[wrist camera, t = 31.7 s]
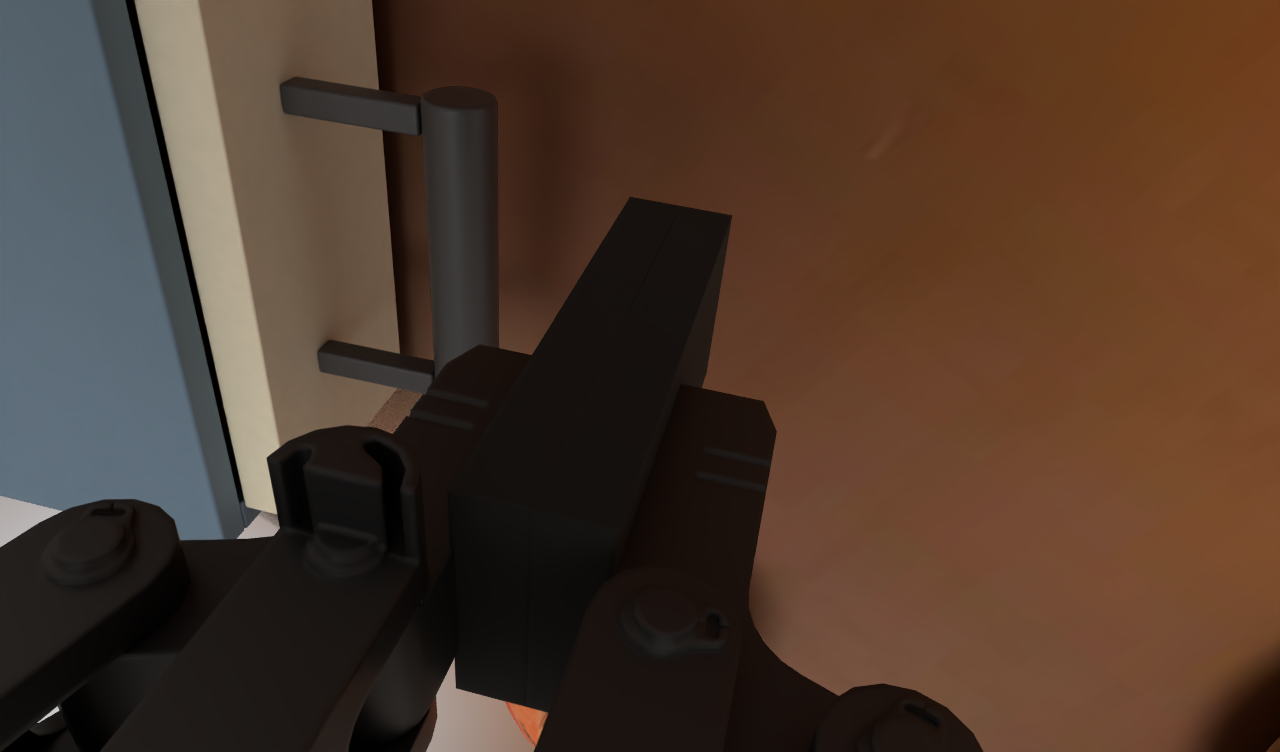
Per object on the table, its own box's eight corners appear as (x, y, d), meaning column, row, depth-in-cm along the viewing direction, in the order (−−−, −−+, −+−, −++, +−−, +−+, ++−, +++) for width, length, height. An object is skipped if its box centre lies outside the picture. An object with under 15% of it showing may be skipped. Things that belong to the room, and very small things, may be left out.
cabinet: (328, -154, 19) (57, -126, 13) (380, 375, 27) (226, 553, 20) (-209, -220, 21) (-673, -223, 15) (-17, 291, 28) (-268, 430, 22)
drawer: (560, -86, 18) (442, -40, 13) (544, 412, 25) (463, 559, 20) (-152, -178, 20) (-471, -167, 15) (18, 301, 27) (-166, 409, 22)
